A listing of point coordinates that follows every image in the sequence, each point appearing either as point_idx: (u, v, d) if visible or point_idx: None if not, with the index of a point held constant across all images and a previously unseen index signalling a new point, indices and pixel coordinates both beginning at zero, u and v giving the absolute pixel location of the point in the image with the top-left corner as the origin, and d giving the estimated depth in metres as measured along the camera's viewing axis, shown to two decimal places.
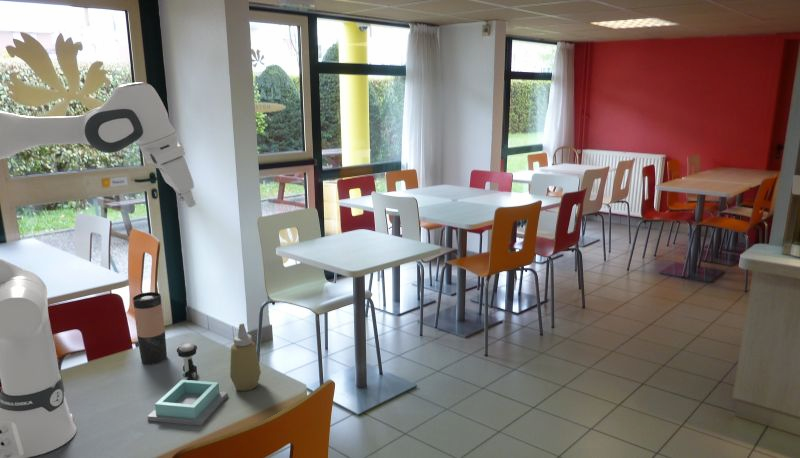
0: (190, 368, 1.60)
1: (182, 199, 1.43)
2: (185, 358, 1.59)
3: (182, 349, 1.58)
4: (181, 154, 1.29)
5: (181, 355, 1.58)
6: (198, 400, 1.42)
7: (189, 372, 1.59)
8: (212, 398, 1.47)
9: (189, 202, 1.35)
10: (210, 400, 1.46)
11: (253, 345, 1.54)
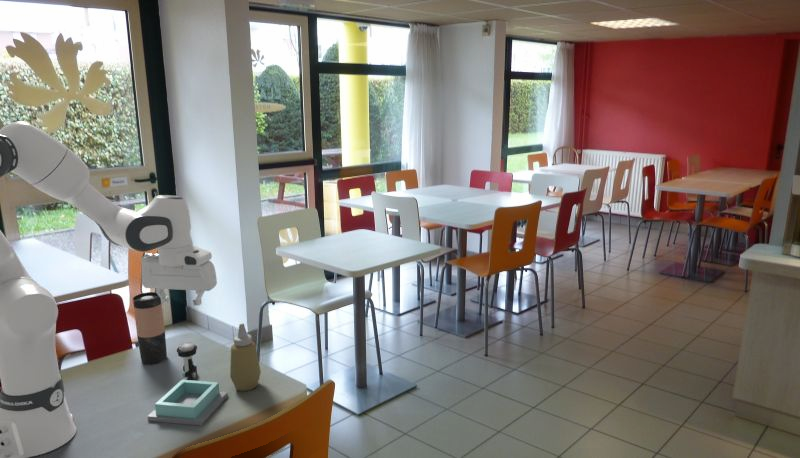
0: (190, 368, 1.60)
1: (166, 302, 1.56)
2: (185, 358, 1.59)
3: (182, 349, 1.58)
4: (210, 258, 1.54)
5: (181, 355, 1.58)
6: (198, 400, 1.42)
7: (189, 372, 1.59)
8: (212, 398, 1.47)
9: (199, 301, 1.55)
10: (210, 400, 1.46)
11: (253, 345, 1.54)
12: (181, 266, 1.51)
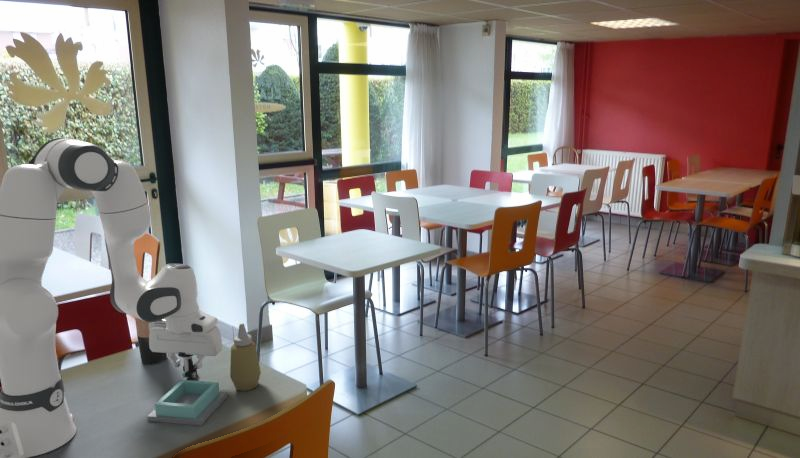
0: (190, 368, 1.60)
1: (178, 365, 1.60)
2: (185, 358, 1.59)
3: None
4: (216, 323, 1.58)
5: (181, 355, 1.58)
6: (198, 400, 1.42)
7: (189, 372, 1.59)
8: (212, 398, 1.47)
9: (200, 364, 1.59)
10: (210, 400, 1.46)
11: (253, 345, 1.54)
12: (188, 332, 1.55)
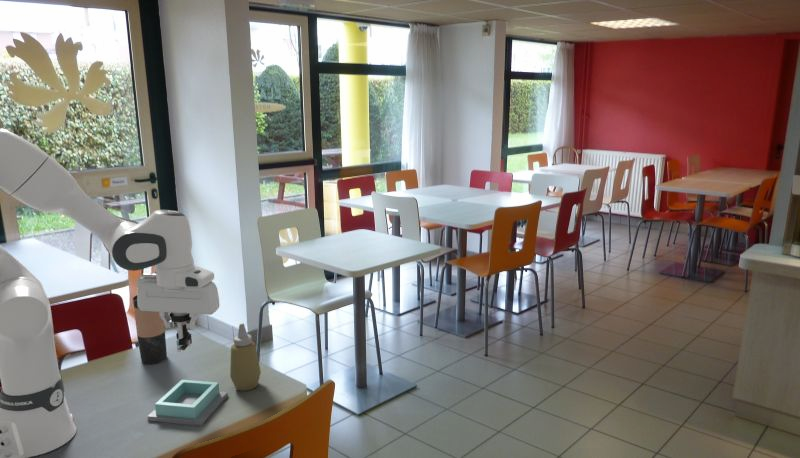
0: (184, 335, 1.44)
1: (171, 326, 1.44)
2: (179, 324, 1.43)
3: (176, 313, 1.42)
4: None
5: (175, 320, 1.42)
6: (198, 400, 1.42)
7: (183, 339, 1.43)
8: (212, 398, 1.47)
9: (193, 325, 1.43)
10: (210, 400, 1.46)
11: (253, 345, 1.54)
12: (181, 288, 1.39)
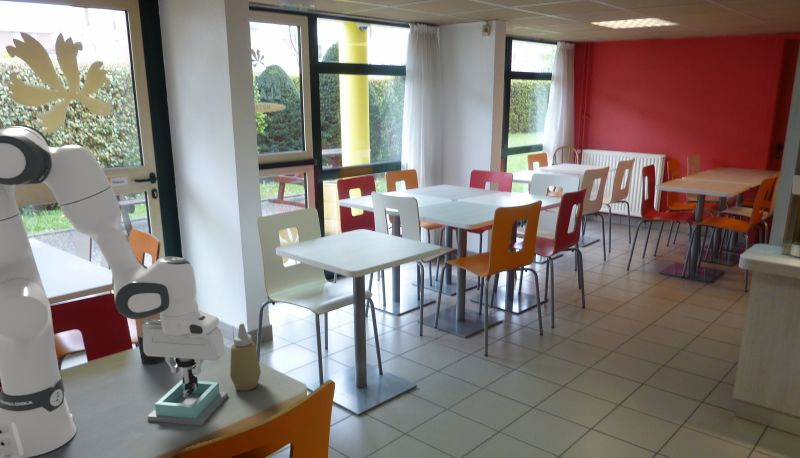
0: (190, 379, 1.45)
1: (177, 371, 1.44)
2: (185, 369, 1.43)
3: (181, 359, 1.42)
4: (217, 324, 1.42)
5: (180, 365, 1.42)
6: (198, 400, 1.42)
7: (189, 384, 1.44)
8: (212, 398, 1.47)
9: (198, 369, 1.43)
10: (210, 400, 1.46)
11: (253, 345, 1.54)
12: (186, 334, 1.39)
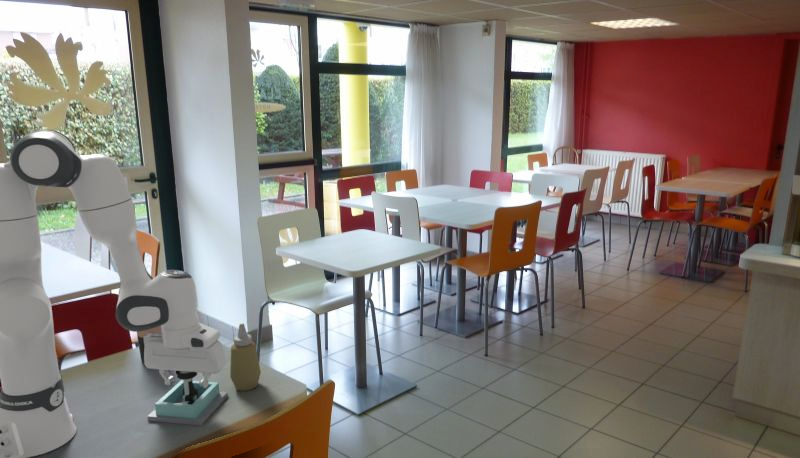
0: (191, 391, 1.45)
1: (171, 383, 1.45)
2: (185, 380, 1.44)
3: (182, 371, 1.43)
4: (218, 337, 1.43)
5: (181, 377, 1.43)
6: (198, 400, 1.42)
7: (190, 396, 1.45)
8: (212, 398, 1.47)
9: (206, 383, 1.43)
10: (210, 400, 1.46)
11: (253, 345, 1.54)
12: (187, 347, 1.40)
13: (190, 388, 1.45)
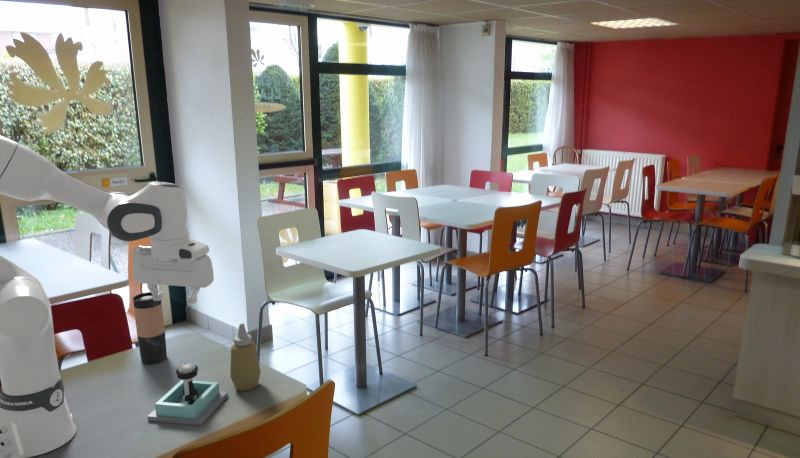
0: (191, 391, 1.45)
1: (159, 299, 1.44)
2: (185, 380, 1.44)
3: (182, 371, 1.43)
4: (207, 252, 1.41)
5: (181, 377, 1.43)
6: (198, 400, 1.42)
7: (190, 396, 1.45)
8: (212, 398, 1.47)
9: (194, 298, 1.42)
10: (210, 400, 1.46)
11: (253, 345, 1.54)
12: (175, 260, 1.39)
13: (190, 388, 1.45)
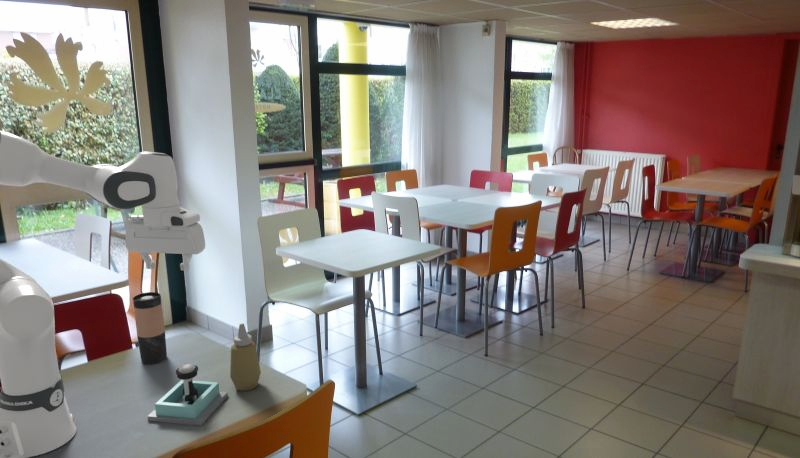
0: (191, 391, 1.45)
1: (152, 267, 1.47)
2: (185, 380, 1.44)
3: (182, 371, 1.43)
4: (198, 220, 1.45)
5: (181, 377, 1.43)
6: (198, 400, 1.42)
7: (190, 396, 1.45)
8: (212, 398, 1.47)
9: (186, 265, 1.46)
10: (210, 400, 1.46)
11: (253, 345, 1.54)
12: (167, 228, 1.42)
13: (190, 388, 1.45)
